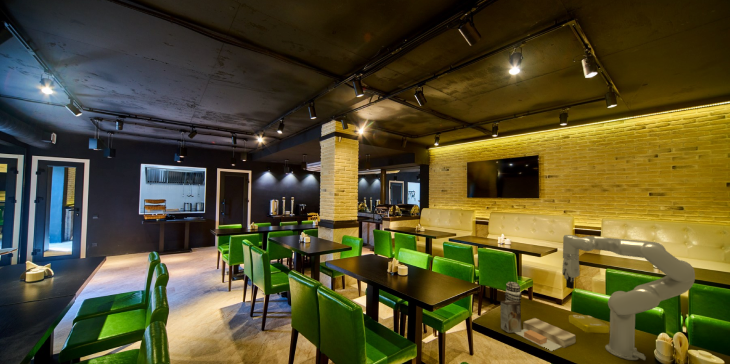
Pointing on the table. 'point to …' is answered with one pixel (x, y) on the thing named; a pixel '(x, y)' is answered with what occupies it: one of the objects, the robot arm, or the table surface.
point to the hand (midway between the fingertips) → (569, 288)
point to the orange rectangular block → (535, 337)
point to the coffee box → (510, 316)
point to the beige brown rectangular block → (550, 332)
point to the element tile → (588, 324)
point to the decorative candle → (513, 292)
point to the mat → (548, 344)
